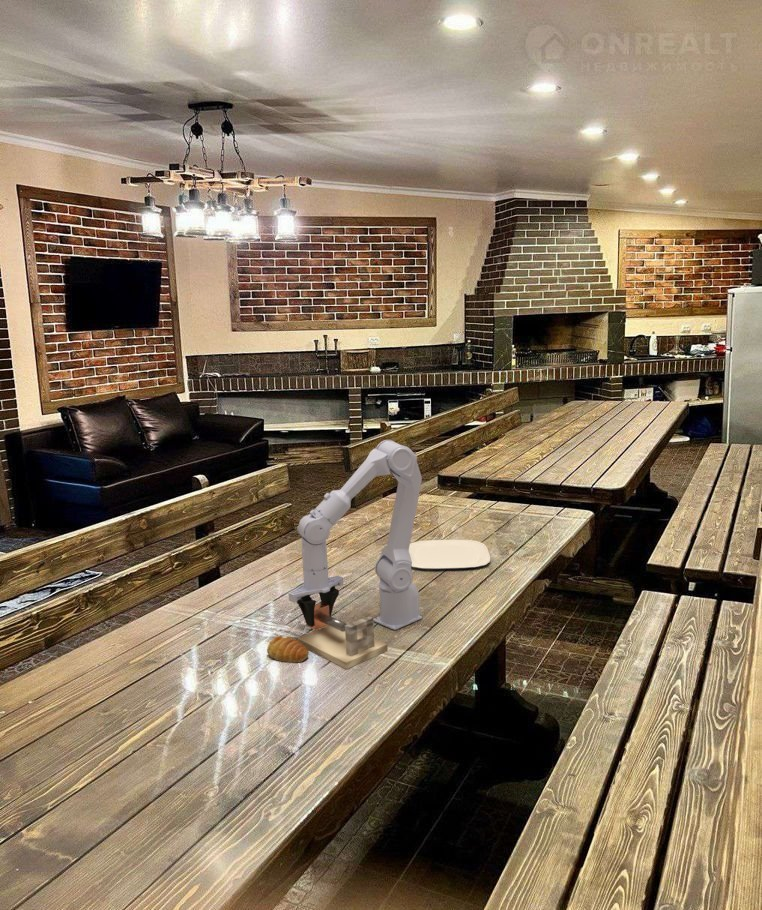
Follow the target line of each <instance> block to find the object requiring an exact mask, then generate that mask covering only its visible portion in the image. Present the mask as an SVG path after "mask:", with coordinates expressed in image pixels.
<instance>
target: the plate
mask: <svg viewBox="0 0 762 910" xmlns="http://www.w3.org/2000/svg"><path fill="white" fill-rule="evenodd" d="M409 553H410V557H411V560H412V565H411V568H413V569H419V570H420V569H421V570H457V569H458V570H461V569H462V570H463V569H475V568H481V567H483V566H488V564H489V563H490V562H491V554H490V551H489V549H488V547H487V546H486V544H484V543H483V542H481V541H479V540H473V539H472V540H471V539H433V540H432V539H431V540H419V541H413V542H410V546H409Z"/></svg>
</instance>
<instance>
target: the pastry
mask: <svg viewBox="0 0 762 910" xmlns="http://www.w3.org/2000/svg"><path fill="white" fill-rule="evenodd" d="M266 653H267V654H268V655H269V656H270V658H271V659H275V661H278V662H279V661H280V662H284V663H291V664H292V663H301V662H303V661H305V660H306V659H308V656H309V654H310V653H309V650H308V649H306V648H305V646H304V645H302V644H301V642H298V641H297V639H295V638H292V637H291V636H286V637H284V636H281V635H277V636H275V637H273V638H272V639H271V641H270V642H269V644H268V647H267V649H266Z"/></svg>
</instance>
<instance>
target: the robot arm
mask: <svg viewBox="0 0 762 910" xmlns="http://www.w3.org/2000/svg"><path fill="white" fill-rule="evenodd" d="M387 475H389V476H390V475H392V476H394V478H395V479H396V480H397V488H396V494H395V499H394V505H393V509H392V516H391V521H390V526H389V532H388V537H387V542H386V545H385V546H384V547H383V548H382V549H381V553H380V556H379V558H378V560H377V561H376V563H375V566H374V572H375V574H376V576H377V577H378V578H379V583H378V588H379V589H378V590H379V613H380V614H379V616H377V617H373V622H374V623H376V624H379V625H382V626H384V627H386V628H387V629H391V630H393V631H396V630H399V629H401V628H403V627H407V625H410V624H412V623H415V622H417V621H419V620H421V619H422V618H423V616H422V615H420V593H419V589H418V587H417V585H416V584H415V583H414V582H413V579H414V576H413V575H414V574H413V571H412V567H411V565H412V560H411V557H410V553H409V546H410V543H411V540H412V534H413V528H414V523H415V518H416V514H417V508H418V502H419V498H420V491H421V487H422V481H423V478H422V477H423V476H422V473H421V471H420V467H419V464H418V456H417V455H416V454H415V452H414V451H412V450H411V448H410V447H408V446H406V445H403V444H399V442H398V443H397V442H395V441H394V440H392V439H385V440H382V441H381V442H379V443H378V444H377V446H376V447H375V448H372V450H370V452H369V454H368V456H367V457H366V459H365V460H364V461H363V462H362V463H361V465H360V466H359V467H358V468H357V470H356V471H355V472H353V474H352V475H351V477H349V479H348V480H347V481H346V482H345V483H344V485H343V486H342V487H341V488H340V489H337V490H334V489H333V490H331V491H330V492H326V493H325V494H324V495H323V500H322V501H320V503H319V504H318V505H317V506H316V507H315V508H314V509H313V508H312V509H311V510H310V511H309V514H307V515H305V516H303V517H302V518H300V520H299V523H298V526H297V527H296V529H297V532H298V534H299V535H300V536H301V558H302V560H301V561H302V574H303V575H302V576H303V584H301V585H300V586H298V587H297V588H295V589H294V590H292V591H289V592H288V601H289V602H292V603H294V604H295V603H296V604H297V605H298V607H299V609H300V611H301V613H302V615H303V618H304V622H305V624H306V626H308V627H309V626H310V627H313V626H314V608H315V605H316V603H317V601H316V600H314V599H312V597H311V596H312V595H313V596H314V595H315V594H319V599H320V603H322V602H323V603H326V604H328V605H329V616H331V617H332V615H333V614H332V613H333V608H334V605H335V603H336V600H338V599H337V598H338V597H339V595H340V591H339V589H337V588H336V587H342V586H344V577H342V576H340V575H335V576H331V577H329V566H328V564H329V563H328V547H327V540H328V538H329V536H330V534H331V529H332V528H333V527H334V526H335V525H336V524H337V523H338V521H340V520H341V518H342V517H343V516H344V515H345V514H346V513H347V512H348V511H349V510H350V509H351V503H352V502H351V501H352V499H354V497H356V496H357V495H358V494H359V493H360V492H361V491H362V490H363V489H364V488H365V487H367V485H368V484H369V483H370V482H371V481H373V479H374V478H375V477H379V476H380V477H381V476H387ZM310 627H309V628H310Z"/></svg>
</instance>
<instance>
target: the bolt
mask: <svg viewBox="0 0 762 910" xmlns="http://www.w3.org/2000/svg"><path fill="white" fill-rule="evenodd" d="M328 625H329V626H331V627H333V628H336V629H338V630H340V631H342V632H343V631H345V625H348V624H347V623H346V622H344V621H342V620H339V619H337V618H335V617H333V616H332V615H331V616H329V605H328V604H326V603H323V602H322V603H321V602H319V603H317V604H315V608H314V626H313V627H310V626H308V627H309V628H310V629H312V630H314V631H316V630H318V629H321V628H323V627H326V626H328Z"/></svg>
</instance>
